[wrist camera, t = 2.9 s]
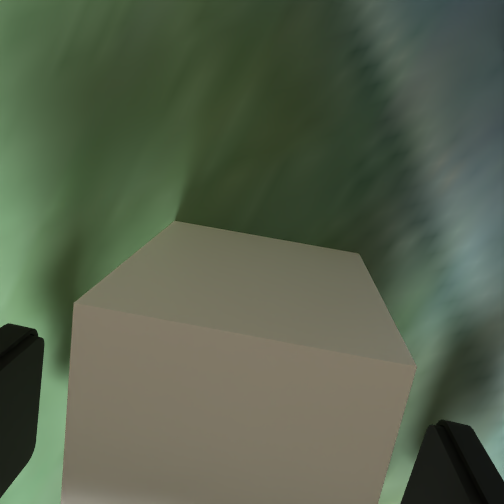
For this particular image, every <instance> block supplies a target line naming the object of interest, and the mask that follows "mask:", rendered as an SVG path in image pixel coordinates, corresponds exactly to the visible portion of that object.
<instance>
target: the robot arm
mask: <svg viewBox="0 0 504 504" xmlns="http://www.w3.org/2000/svg"><path fill="white" fill-rule="evenodd" d="M43 355H44V339H43V338H41V337H38V333H37V331H36V330H35V329H32V328H28V327H23V326H19V325H14V324H9V323H8V324H6V325H4V326H2V327H1V328H0V498H1V496H2V495H3V494H4V493H5V491H6V490H7V489H8V487H9V486H10V485H11V484H12V482H13V481H14V480H15V478H16V477H17V476H18V475H19V473H20V472H21V471H22V469H23V468H24V467H25V466H26V464H27V463H28V461H29V460H30V458H31V456H32V454H33V451H34V448H35V444H36V434H37V423H38V412H39V400H40V389H41V378H42V366H43ZM401 504H504V481H503V479H502V477H501V476H500V474H499V472H498V471H497V469H496V467H495V466H494V464H493V462H492V461H491V459H490V457H489V456H488V454H487V452H486V451H485V449H484V447H483V445H482V444H481V442H480V440H479V439H478V437H477V435H476V434H475V432H474V430H473V429H472V428H471V426H468V425H464V424H460V423H455V422H451V421H446V420H440V421H439V422H438V423H437V424H436V425H429V427H428V428H427V430H426V433H425V436H424V439H423V442H422V444H421V447H420V450H419V453H418V456H417V459H416V461H415V464H414V467H413V470H412V473H411V476H410V478H409V481H408V484H407V487H406V490H405V493H404V495H403V498H402V501H401Z"/></svg>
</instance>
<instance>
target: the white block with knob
mask: <svg viewBox="0 0 504 504" xmlns="http://www.w3.org/2000/svg"><path fill="white" fill-rule="evenodd" d="M416 369H417V366H416V364H415V362H414V360H413V358H412V356H411V354H410V352H409V350H408V348H407V346H406V344H405V342H404V340H403V338H402V336H401V334H400V332H399V330H398V329H397V327H396V325H395V323H394V321H393V319H392V317H391V315H390V313H389V311H388V309H387V307H386V305H385V303H384V301H383V299H382V297H381V295H380V293H379V291H378V289H377V287H376V285H375V284H374V282H373V280H372V278H371V276H370V274H369V272H368V270H367V268H366V266H365V264H364V262H363V260H362V258H361V256H360V254H359V253H353V252H348V251H342V250H336V249H331V248H325V247H319V246H314V245H308V244H303V243H297V242H291V241H286V240H280V239H275V238H269V237H263V236H258V235H252V234H246V233H241V232H235V231H230V230H224V229H218V228H213V227H207V226H201V225H196V224H190V223H185V222H179V221H174V222H172V223H171V224H170V225H169V226H167V227H166V228H165V229H164V230H162V231H161V232H160V233H159V234H158V235H156V236H155V237H154V238H153V239H151V240H150V241H149V242H148V243H146V244H145V245H144V246H143V247H142V248H140V249H139V250H138V251H137V252H135V253H134V254H133V255H132V256H131V257H129V258H128V259H127V260H126V261H124V262H123V263H122V264H121V265H119V266H118V267H117V268H116V269H115V270H113V271H112V272H111V273H110V274H108V275H107V276H106V277H105V278H104V279H102V280H101V281H100V282H99V283H97V284H96V285H95V286H94V287H92V288H91V289H90V290H89V291H88V292H86V293H85V294H84V295H83V296H81V297H80V298H79V299H78V300H76V301H75V302H74V306H73V321H72V337H71V352H70V368H69V383H68V399H67V414H66V430H65V445H64V461H63V477H62V492H61V504H378V501H379V498H380V494H381V491H382V487H383V484H384V480H385V477H386V473H387V470H388V466H389V463H390V459H391V456H392V452H393V449H394V445H395V442H396V438H397V435H398V431H399V428H400V424H401V421H402V417H403V414H404V410H405V407H406V403H407V400H408V396H409V393H410V390H411V386H412V383H413V379H414V376H415V372H416Z"/></svg>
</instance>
